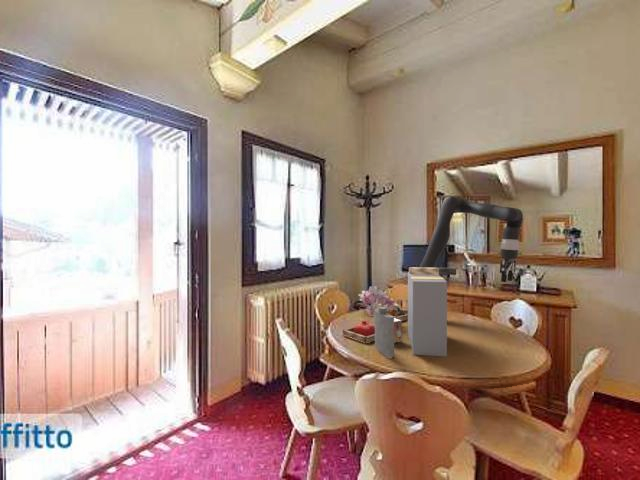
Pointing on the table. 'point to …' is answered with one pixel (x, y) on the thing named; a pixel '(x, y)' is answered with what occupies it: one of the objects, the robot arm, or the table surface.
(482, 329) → the table surface
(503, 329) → the table surface
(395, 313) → the nautilus
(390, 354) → the hip flask
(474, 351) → the table surface
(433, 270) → the dark brown square bar
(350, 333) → the frame
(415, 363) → the table surface
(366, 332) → the butter dish
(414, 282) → the cabinet
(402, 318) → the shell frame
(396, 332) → the small box
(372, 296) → the flower
